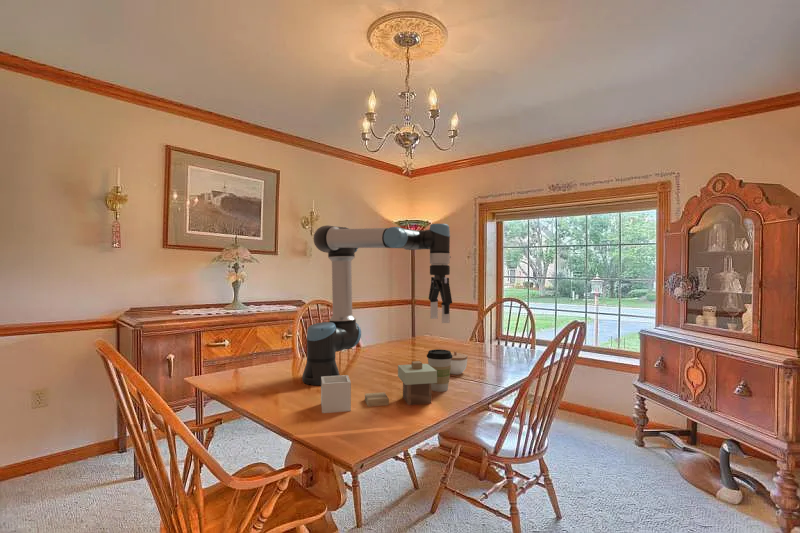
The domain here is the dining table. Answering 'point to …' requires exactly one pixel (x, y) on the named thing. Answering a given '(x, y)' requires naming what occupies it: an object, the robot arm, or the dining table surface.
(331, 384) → the planter
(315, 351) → the robot arm
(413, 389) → the walnut box
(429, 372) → the lid
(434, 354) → the coffee cup
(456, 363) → the lidded jar
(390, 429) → the dining table surface
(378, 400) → the oak stand
